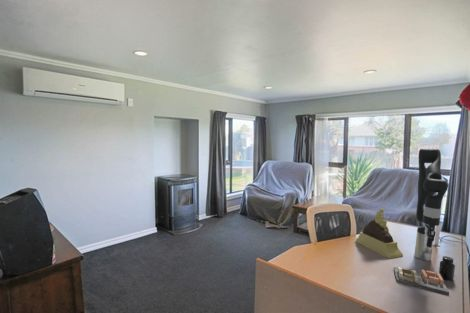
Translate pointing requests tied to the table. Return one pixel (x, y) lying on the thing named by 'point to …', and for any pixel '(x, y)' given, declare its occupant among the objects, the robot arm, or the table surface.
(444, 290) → the mount board
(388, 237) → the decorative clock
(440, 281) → the socket
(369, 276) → the table surface
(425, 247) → the peg
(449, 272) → the supplement bottle
